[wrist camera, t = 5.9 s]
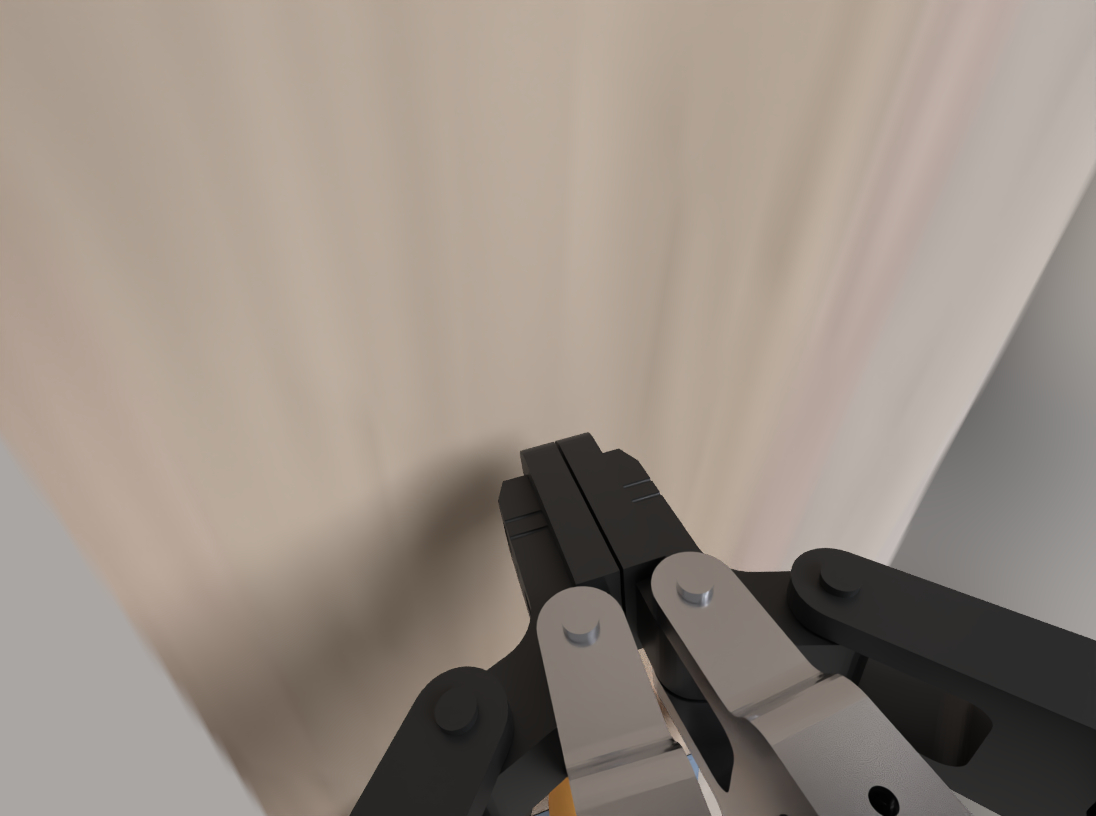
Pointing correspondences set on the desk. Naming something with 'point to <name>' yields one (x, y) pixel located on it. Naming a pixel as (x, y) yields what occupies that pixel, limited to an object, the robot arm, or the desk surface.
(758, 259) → the desk surface
